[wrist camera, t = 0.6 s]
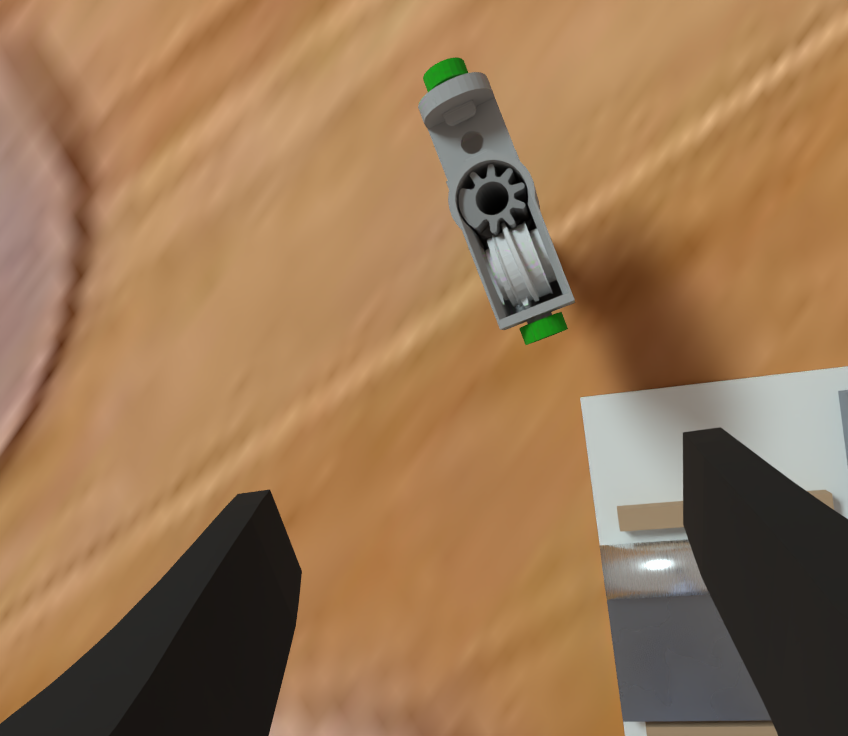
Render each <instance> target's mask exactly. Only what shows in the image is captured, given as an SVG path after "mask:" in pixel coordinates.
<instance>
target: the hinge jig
mask: <svg viewBox="0 0 848 736" xmlns="http://www.w3.org/2000/svg"><path fill="white" fill-rule="evenodd" d="M580 399H581V407H582V414H583V422H584V429H585V437H586V444H587V452H588V459H589V467H590V474H591V482H592V489H593V497H594V505H595V512H596V520H597V527H598V535H599V542H600V545H611V544H626V543H641V542H656V541H671V540H686V539H688V537H687V534H686V531H685V528H684V525H683V432H689V431H696V430H704V429H711V428H718V427H721V428H722V429H724V430H725V431H726V432H728V433H729V434H730V435H732V436H733V437H734V438H736V439H737V440H738V441H740V442H741V443H742V444H744V445H745V446H746V447H748V448H749V449H750V450H752V451H753V452H754V453H756V454H757V455H758V456H760V457H761V458H762V459H764V460H765V461H766V462H768V463H769V464H770V465H772V466H773V467H774V468H776V469H777V470H778V471H780V472H781V473H782V474H784V475H785V476H786V477H788V478H789V479H790V480H792V481H793V482H795V483H796V484H797V485H799V486H800V487H802V488H803V489H804V490H806V491H807V492H809V493H810V494H812V495H813V496H814V497H816V498H817V499H819V500H820V501H822V502H823V503H824V504H826V505H827V506H829V507H830V508H832V509H833V510H835V511H836V512H838V513H839V514H841V515H842V516H844V517H846V518H847V519H848V366H846V367H837V368H829V369H820V370H812V371H803V372H794V373H786V374H777V375H769V376H760V377H751V378H743V379H734V380H726V381H717V382H708V383H700V384H691V385H683V386H674V387H665V388H657V389H648V390H640V391H631V392H622V393H614V394H605V395H597V396H588V397H580ZM623 723H624V730H625V736H778V734H777V732H776V729H775V727H774V725H773V723H772V720H761V721H649V722H623Z"/></svg>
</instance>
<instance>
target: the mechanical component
mask: <svg viewBox="0 0 848 736" xmlns="http://www.w3.org/2000/svg"><path fill="white" fill-rule="evenodd" d="M423 80H424V83H425V85H426V88H427V91H428V93H427V94H426V95H425V96H424V97H423V98H422V99H421V101H420V103H419V106H418V108H419V111H420V113H421V116H422V119H423V121H424V124H425V126H426V127H427V129H428V131H429V133H430V136H431V138H432V141H433V144H434V146H435V149H436V151H437V154H438V157H439V159H440V162H441V164H442V167H443V170H444V172H445V175H446V177H447V180H448V181H446V183H447V185H448V188H449V198H448V202H449V209H450V212H451V215H452V217H453V219H454V221H455V222H456V224H457V225H458V226H459V227H460V228H461V229H462V231H463V234H464V237H465V239H466V242H467V244H468V247H469V250H470V252H471V255H472V257H473V260H474V263H475V265H476V268H477V270H478V273H479V276H480V278H481V281H482V283H483V286H484V289H485V291H486V294H487V296H488V299H489V302H490V304H491V307H492V309H493V312H494V315H495V317H496V320H497V322H498V325H499V328H500V329H501V330H506V329H509V328H511V327H514V326H517V325H519V324H522V323H524V322H527V323H528V325H525V326H523V327H521V328H519V329H520V331H521V334H522V337H523V339H524V342H525V345H528V344H530V343H533V342H536V341H539V340H541V339H544V338H547V337H549V336H552V335H554V334H557V333H559V332H562V331H564V330H567V329H568V328H567V325H566V323H565V320H564V317H563V315H562V312H559V313H556V314H553V315H552V313H551V312H552V311H555V310H557V309H560V308H562V307H565V306H568V305H570V304H573V303H575V300H574V297H573V294H572V292H571V289H570V287H569V284H568V282H567V279H566V276H565V274H564V271H563V269H562V266H561V264H560V261H559V259H558V256H557V253H556V251H555V248H554V246H553V243H552V241H551V238H550V236H549V233H548V230H547V228H546V225H545V223H544V220H543V218H542V215H541V212H540V206H539V201H538V197H537V194H536V190H535V186H534V182H533V180H532V177H531V175H530V173H529V172H528V170H527V169H526V167H525V166H524V165H523V164H522V163H521V162H520V160H519V157H518V155H517V152H516V150H515V148H514V146H513V143H512V140H511V138H510V135H509V133H508V130H507V128H506V125H505V123H504V120H503V117H502V115H501V112H500V110H499V107H498V105H497V102H496V99H495V97H494V94H493V91H492V89H491V86H490V84H489V81H488V78H487V76H486V75H485V74H483V73H479V72H473V73H468V71H467V68H466V65H465V63H464V60H462V59H461V58H450V59H446V60H443V61H441V62H439V63H437V64H435V65H434V66H432V67H431V68H430V69H429V70H428V71H427V72H426V73H425V74H424V77H423Z"/></svg>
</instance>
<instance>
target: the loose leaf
mask: <svg viewBox="0 0 848 736" xmlns="http://www.w3.org/2000/svg"><path fill="white" fill-rule="evenodd" d="M600 551H601V559H602V567H603V575H604V582H605V590H606V597H607V604H608V611H609V619H610V626H611V634H612V641H613V649H614V656H615V664H616V671H617V679H618V686H619V694H620V701H621V709H622V716H623V722H649V721H761V720H771V718H770V716H769V714H768V712H767V709H766V707H765V705H764V703H763V701H762V699H761V697H760V695H759V693H758V691H757V689H756V687H755V685H754V683H753V681H752V679H751V677H750V675H749V673H748V671H747V669H746V667H745V665H744V663H743V661H742V659H741V657H740V655H739V653H738V651H737V649H736V647H735V645H734V643H733V641H732V639H731V637H730V634H729V632H728V630H727V628H726V626H725V624H724V622H723V620H722V618H721V616H720V614H719V612H718V610H717V608H716V606H715V604H714V602H713V600H712V598H711V596H710V594H709V592H708V590H707V588H706V586H705V584H704V581H703V579H702V577H701V574H700V571H699V569H698V566H697V563H696V560H695V558H694V555H693V552H692V549H691V546H690V543H689V540H688V539H686V540H671V541H656V542H641V543H626V544H611V545H600Z"/></svg>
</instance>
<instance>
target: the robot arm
mask: <svg viewBox="0 0 848 736" xmlns="http://www.w3.org/2000/svg"><path fill="white" fill-rule="evenodd" d="M683 525H684V528H685V531H686V534H687V537H688V540H689V543H690V546H691V549H692V552H693V555H694V558H695V560H696V563H697V566H698V569H699V571H700V574H701V577H702V579H703V581H704V584H705V586H706V588H707V590H708V592H709V594H710V596H711V598H712V600H713V602H714V604H715V606H716V608H717V610H718V612H719V614H720V616H721V618H722V620H723V622H724V624H725V626H726V628H727V630H728V632H729V634H730V637H731V639H732V641H733V643H734V645H735V647H736V649H737V651H738V653H739V655H740V657H741V659H742V661H743V663H744V665H745V667H746V669H747V671H748V673H749V675H750V677H751V679H752V681H753V683H754V685H755V687H756V689H757V691H758V693H759V695H760V697H761V699H762V701H763V703H764V705H765V707H766V709H767V712H768V714H769V716H770V718H771V720H772V723H773V725H774V727H775V729H776V732H777V734H778V736H848V519H847V518H846V517H844V516H842V515H841V514H839V513H838V512H836V511H835V510H833V509H832V508H830V507H829V506H827V505H826V504H824V503H823V502H822V501H820V500H819V499H817V498H816V497H814V496H813V495H812V494H810V493H809V492H807V491H806V490H804V489H803V488H802V487H800V486H799V485H797V484H796V483H795V482H793V481H792V480H790V479H789V478H788V477H786V476H785V475H784V474H782V473H781V472H780V471H778V470H777V469H776V468H774V467H773V466H772V465H770V464H769V463H768V462H766V461H765V460H764V459H762V458H761V457H760V456H758V455H757V454H756V453H754V452H753V451H752V450H750V449H749V448H748V447H746V446H745V445H744V444H742V443H741V442H740V441H738V440H737V439H736V438H734V437H733V436H732V435H730V434H729V433H728V432H726V431H725V430H724V429H722V428H721V427H718V428H711V429H704V430H696V431H689V432H683ZM301 574H302V571H301V568H300V565H299V563H298V560H297V558H296V555H295V553H294V550H293V547H292V545H291V542H290V540H289V537H288V535H287V532H286V529H285V527H284V524H283V522H282V519H281V517H280V514H279V511H278V509H277V506H276V504H275V501H274V499H273V496H272V493H271V491H270V490H264V491H257V492H249V493H242V494H237V495H236V497H235V498H234V499H233V500H232V501H231V502H230V503H229V504H228V505H227V506H226V507H225V508H224V509H223V510H222V511H221V513H220V514H219V515H218V516H217V517H216V518H215V519H214V520H213V522H212V523H211V524H210V525H209V526H208V527H207V528H206V529H205V531H204V532H203V533H202V534H201V535H200V536H199V537H198V539H197V540H196V541H195V542H194V543H193V544H192V545H191V546H190V548H189V549H188V550H187V551H186V552H185V553H184V554H183V555H182V556H181V557H180V559H179V560H178V561H177V562H176V563H175V564H174V565H173V566H172V567H171V569H170V570H169V571H168V572H167V573H166V574H165V575H164V576H163V577H162V578H161V580H160V581H159V582H158V583H157V584H156V585H155V586H154V587H153V588H152V589H151V590H150V591H149V592H148V593H147V594H146V595H145V596H144V597H143V598H142V599H141V600H140V601H139V602H138V603H137V604H136V605H135V606H134V607H133V608H132V609H131V610H130V611H129V612H128V613H127V614H126V615H125V616H124V618H123V619H122V620H121V621H120V622H119V623H118V624H117V625H116V626H115V627H114V628H113V629H112V630H110V631H109V632H108V633H107V634H106V635H105V636H104V637H103V638H102V639H101V640H100V641H99V642H98V643H97V644H96V645H95V646H93V647H92V648H91V649H90V650H89V651H88V652H87V653H86V654H85V655H83V656H82V657H81V658H80V659H79V660H78V661H77V662H76V663H74V664H73V665H72V666H71V667H70V668H69V669H68V670H66V671H65V672H64V673H63V674H62V675H61V676H60V677H58V678H57V679H56V680H55V681H54V682H52V683H51V684H50V685H49V686H48V687H46V688H45V689H44V690H43V691H41V692H40V693H39V694H38V695H36V696H35V697H34V698H32V699H31V700H30V701H29V702H27V703H26V704H25V705H24V706H22V707H21V708H20V709H18V710H17V711H16V712H15V713H13V714H12V715H11V716H10V717H8V718H7V719H6V720H4V721H3V722H2V723H1V724H0V736H269V732H270V728H271V724H272V720H273V716H274V712H275V708H276V704H277V700H278V696H279V692H280V688H281V684H282V680H283V676H284V672H285V668H286V664H287V660H288V656H289V652H290V647H291V643H292V639H293V635H294V630H295V626H296V619H297V611H298V604H299V594H300V584H301Z"/></svg>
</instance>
